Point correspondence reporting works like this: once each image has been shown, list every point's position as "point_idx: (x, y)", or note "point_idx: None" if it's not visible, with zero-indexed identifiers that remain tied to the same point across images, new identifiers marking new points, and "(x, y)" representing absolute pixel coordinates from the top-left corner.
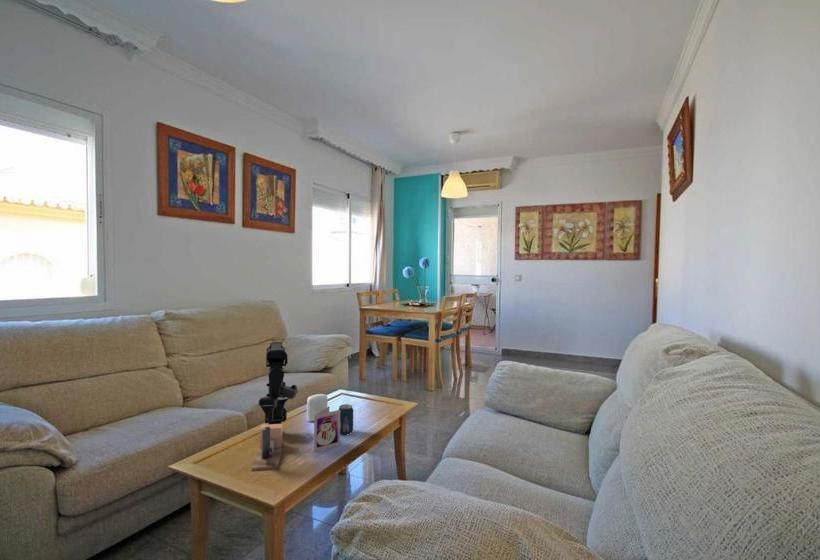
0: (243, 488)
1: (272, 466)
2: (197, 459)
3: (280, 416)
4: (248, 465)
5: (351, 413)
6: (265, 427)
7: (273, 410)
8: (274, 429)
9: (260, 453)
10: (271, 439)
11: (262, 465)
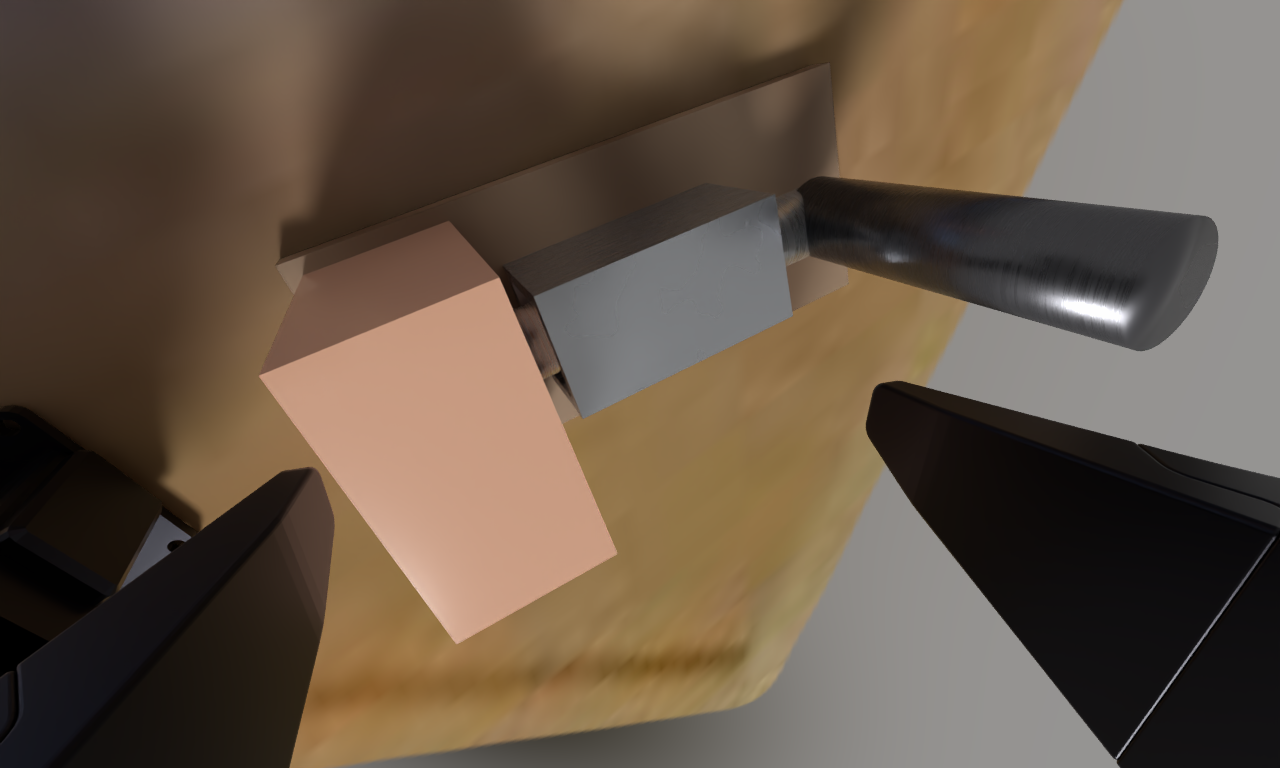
0: None
1: (830, 113)
2: (704, 681)
3: (315, 484)
4: (765, 348)
5: None
6: (1135, 323)
7: (1261, 503)
8: (540, 378)
9: None
10: (572, 337)
11: None
